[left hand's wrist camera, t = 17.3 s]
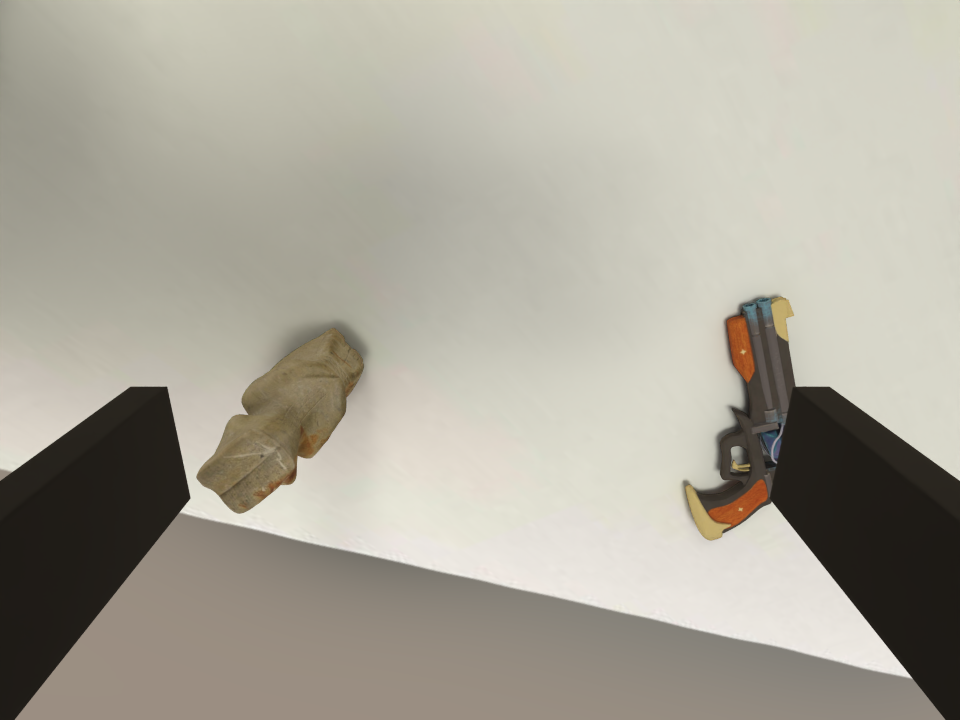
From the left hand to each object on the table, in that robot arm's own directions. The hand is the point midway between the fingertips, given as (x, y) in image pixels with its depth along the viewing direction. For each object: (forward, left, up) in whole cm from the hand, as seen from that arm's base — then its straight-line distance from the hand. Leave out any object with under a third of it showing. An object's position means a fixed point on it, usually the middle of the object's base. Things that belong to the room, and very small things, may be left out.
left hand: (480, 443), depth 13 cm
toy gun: (+23, -9, -30) cm, 39 cm away
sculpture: (-9, -13, -30) cm, 34 cm away
